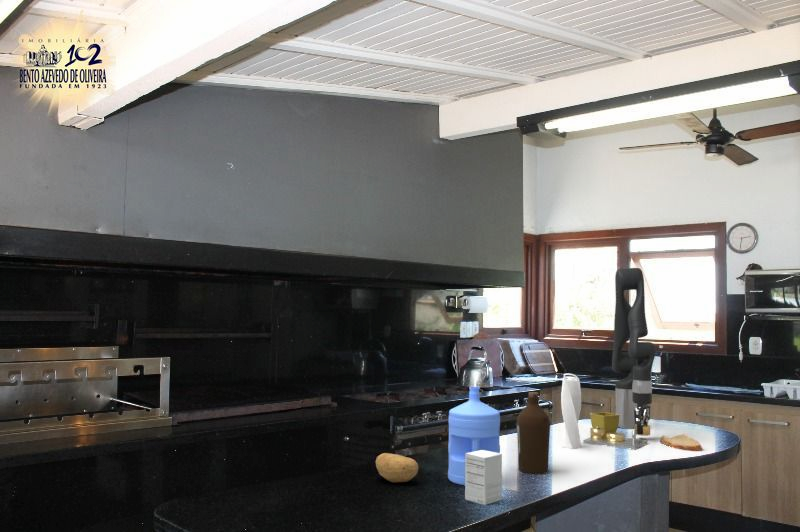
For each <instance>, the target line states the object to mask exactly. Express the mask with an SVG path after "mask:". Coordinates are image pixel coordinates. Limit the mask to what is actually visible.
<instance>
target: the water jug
mask: <svg viewBox="0 0 800 532" xmlns="http://www.w3.org/2000/svg"><path fill="white" fill-rule="evenodd" d="M480 388H481V387H480V386H469V393H468V395H469V396H468V397H469V399H468V400H467V401H466V402H463V403H462V404H459V405H457V406H455V407H453V408H451V409H449V410H448V411H449V412H448V445H447V446H448V447H447V449H448V450H447V452H448V470H447V478H448V481H450V482H451V483H453V484H456V485H460V486H464V487H465V453H470V452H474V451H479V450H485V451H491V452H496V453H500V454H501V445H500V427H501V415H500V414H501V413H500V412H499V410H497V409H495V408H494V407H492V406H490V405H487V404H486V403H484V402H482V401H481V400H480Z"/></svg>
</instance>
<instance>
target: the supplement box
mask: <svg viewBox="0 0 800 532" xmlns="http://www.w3.org/2000/svg"><path fill="white" fill-rule="evenodd" d="M502 455H503V454H502V453H501V452H500V453H496V452H491V451H485V450H479V451H474V452H470V453H465V486H464V487H465V490H464V499H465V501H469V502H473V503H476V504H480V505H482V506H483V505H484V506H486V505H490V504H492V503H496V502H500V501H502V500H503V488H502V487H503V485H502V484H503V475H502V474H503V467H502V465H503V458H502V457H503V456H502Z"/></svg>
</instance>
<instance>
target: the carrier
mask: <svg viewBox="0 0 800 532" xmlns="http://www.w3.org/2000/svg"><path fill="white" fill-rule="evenodd" d="M589 430H590V433H589V435H590V436H589V437H587V438H585V439H583V444H586V443H588V444H589V445H594V444H598V445H597V446H602V445H607V446H606V447H609V446H615V447H614V448H617V447H622V448H621V449H625V448H631V449H630V450H632V449H635V450H637V449H639V448H641V447H643V446H642V445H644V444H646V445H647V443H648V439H647V440H646V439H638V438H637V437H636V431H635V430H631V438H630V437H626V434H625V433H621V432H616V433H614V432H610V433H606V435H605V429H603V428H600V427H596V428H593V427H590V429H589ZM588 444H587V445H588ZM640 446H641V447H640ZM644 446H645V445H644ZM638 447H639V448H638ZM636 448H637V449H636Z"/></svg>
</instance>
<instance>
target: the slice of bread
mask: <svg viewBox="0 0 800 532" xmlns="http://www.w3.org/2000/svg"><path fill="white" fill-rule="evenodd" d="M659 441H660V443H661V444H662V445H663V444H664V445H663V446H665V445H666V446H665V447H669V446H670V447H669V448H672V447H673V449H677V450H681V451H689V452H703V448H702V446H701V443H700V442H699V441H697V440H696V439H694V438H692V437H690V436H687V435H685V434H680V435H674V436H672V437H670V436H669V437H668V436H666V435H662V436H661V438H660V440H659Z"/></svg>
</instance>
